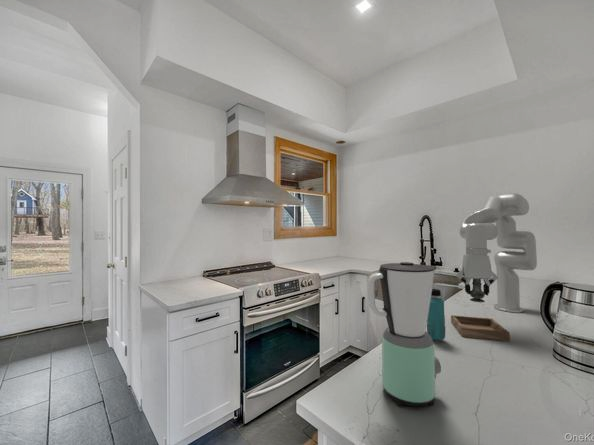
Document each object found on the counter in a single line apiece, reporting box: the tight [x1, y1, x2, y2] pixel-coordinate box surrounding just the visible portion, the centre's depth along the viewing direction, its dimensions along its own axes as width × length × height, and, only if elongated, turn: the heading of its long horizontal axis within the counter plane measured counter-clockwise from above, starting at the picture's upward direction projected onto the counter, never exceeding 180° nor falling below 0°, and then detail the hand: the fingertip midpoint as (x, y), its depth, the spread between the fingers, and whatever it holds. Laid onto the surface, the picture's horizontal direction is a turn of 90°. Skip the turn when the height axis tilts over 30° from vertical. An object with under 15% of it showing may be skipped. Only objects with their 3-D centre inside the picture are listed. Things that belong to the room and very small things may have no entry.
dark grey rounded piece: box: [469, 279, 486, 303], centre depth 113 cm, size 6×6×12 cm
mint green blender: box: [367, 261, 442, 408], centre depth 70 cm, size 19×13×35 cm
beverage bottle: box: [426, 288, 446, 341], centre depth 104 cm, size 6×7×20 cm
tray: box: [450, 315, 511, 342], centre depth 113 cm, size 16×16×4 cm
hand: (477, 293), depth 113 cm, fingers closed on dark grey rounded piece, 5 cm apart
